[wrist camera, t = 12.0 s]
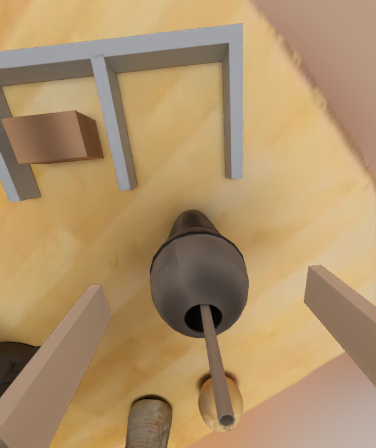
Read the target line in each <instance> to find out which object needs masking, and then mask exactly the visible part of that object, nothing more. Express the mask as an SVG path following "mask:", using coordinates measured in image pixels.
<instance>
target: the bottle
mask: <svg viewBox="0 0 376 448" xmlns="http://www.w3.org/2000/svg"><path fill="white" fill-rule="evenodd" d="M171 423H172V412H171V409H170V405H168V403H165V402H163V401H160V400H152V399H143V400H140V401H138V400H137V401H136V403H135V404H134V405H133V406H132V408H131V410H130V412H129V416H128V426H127V436H126V446H125V448H167V444H168V439H169V434H170V428H171Z"/></svg>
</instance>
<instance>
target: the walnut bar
mask: <svg viewBox="0 0 376 448" xmlns="http://www.w3.org/2000/svg"><path fill="white" fill-rule="evenodd" d="M1 120H2V123H3V125H4V128H5V130H6V133H7V135H8V138H9V141H10V143H11V146H12V148H13V151H14V154H15V156H16V159H17V161H18V164H50V163H60V162H69V161H78V160H88V159H97V158H104V156H103V152H102V148H101V144H100V139H99V135H98V131H97V127H96V122H95V120H93V119H91V118H89V117H87V116H85V115H83V114H81V113H79V112H77V111H67V112H58V113H49V114H40V115H31V116H22V117H13V118H4V119H1Z"/></svg>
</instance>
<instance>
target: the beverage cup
mask: <svg viewBox="0 0 376 448" xmlns="http://www.w3.org/2000/svg"><path fill="white" fill-rule="evenodd" d="M150 284H151V294H152V299H153V303H154V305H155V307H156V309H157V311H158V313H159V314H160V316H161V318H162V319H163V320H164V321H165V322H166V323H167V324H168V325H169V326H170V327H171V328H173V329H174V330H175V331H177V332H179V333H181V334H183V335H186V336H190V337H194V338H205V340H206V347H207V353H208V360H209V366H210V372H211V379H212V385H213V392H214V398H215V404H216V411H217V417H218V422H219V425H222V426H224V427H227V426H231V425H232V424H233V423H234V422H235V416H234V412H233V408H232V403H231V399H230V394H229V390H228V386H227V381H226V377H225V373H224V368H223V364H222V359H221V355H220V351H219V346H218V342H217V338H216V335H218V334H220V333H222V332H224V331H226V330H227V329H229V328H230V327H231V326H232V325H233V324H234V323H235V322H236V321H237V320H238V318H239V317H240V315H241V313H242V311H243V309H244V307H245V305H246V302H247V297H248V288H249V280H248V275H247V272H246V266H245V262H244V259H243V255H242V254H241V252H240V251H239V250H238V248H237V247H236V246H235V244H234V243H232V242H231V241H229V240H228V239H226V238H225V237H223V236H222V235H220V233H219V232H218V231H217V230H216V228H215V227H214V226H213V224H212V223H211V222H210V221H209V219H208V218H207V217H206V216H205V215H204V214H203V213H201V212H199V211H196V210H188V211H185V212H183V213H182V214H181V215H180V216H179V217H178V219H177V220H176V222H175V224H174V226H173V228H172V230H171V232H170V235H169V237H168V239H167V241H166V242H165V244H163V245H162V246H161V247H160V249H159V250H158V252H157V253H156V254H155V256H154V257H153V261H152V264H151V268H150Z"/></svg>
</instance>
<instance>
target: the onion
mask: <svg viewBox="0 0 376 448" xmlns="http://www.w3.org/2000/svg"><path fill="white" fill-rule="evenodd" d="M226 381H227V386H228V390H229V394H230V399H231V403H232V408H233V412H234V416H235V422H234V423H233V424H232V425H231V426H227V427H224V426H222V425H219V422H218V417H217V411H216V404H215V398H214V392H213V385H212V379H211V378H210V379H208V380H207V381H205V383H204V384H203V387H202V389H201V391H200V393H199V400H198V405H199V410H200V413H201V416H202V418H203V420H204V421H205V423H206V424H207V425H208V426H209V427H210V428H212V429H213V430H215V431H219V432H225V431H234V427H235V426H236V425H237V424H238V423H239V421H240V419H241V415H242V411H243V400H242V396H241V393H240V391H239V389H238V387H237V385H236V384H235V383H234V382H233V380H232V379H231V378H228V377H226Z"/></svg>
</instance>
